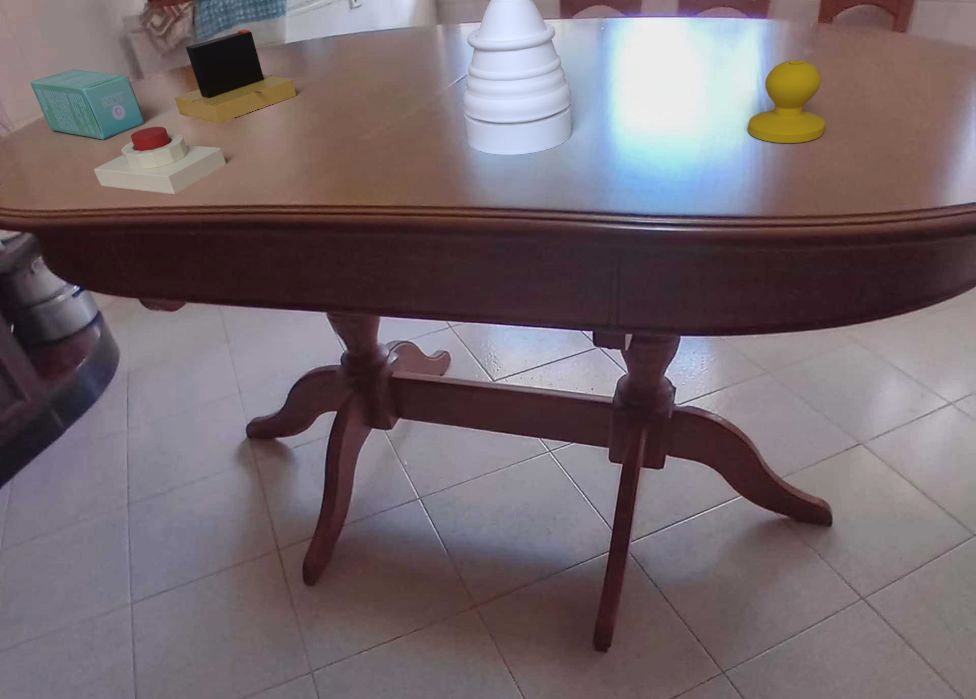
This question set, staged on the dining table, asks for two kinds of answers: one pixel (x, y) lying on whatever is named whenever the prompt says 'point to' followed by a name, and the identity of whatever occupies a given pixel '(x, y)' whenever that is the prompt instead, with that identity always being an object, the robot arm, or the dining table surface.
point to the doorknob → (789, 105)
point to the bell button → (150, 138)
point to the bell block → (161, 167)
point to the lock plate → (236, 100)
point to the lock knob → (225, 63)
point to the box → (88, 103)
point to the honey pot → (515, 83)
